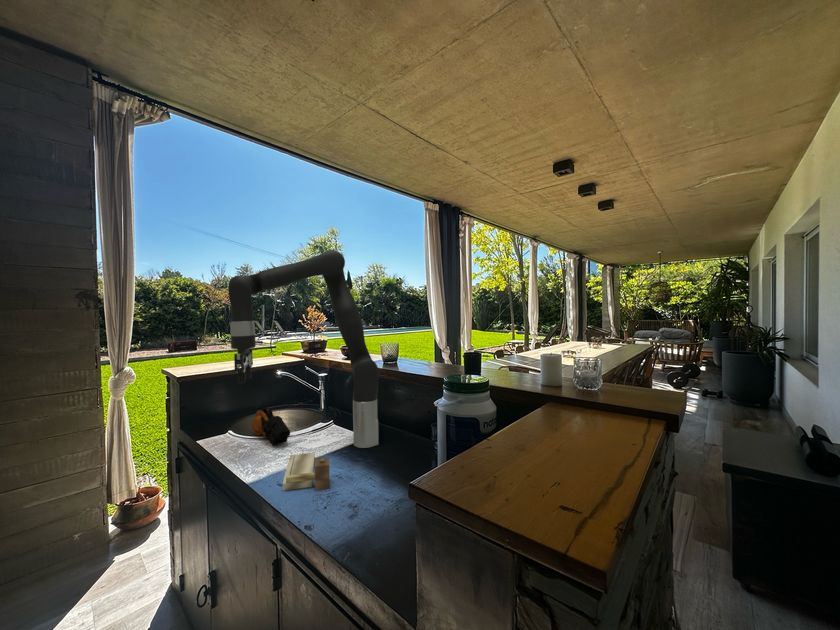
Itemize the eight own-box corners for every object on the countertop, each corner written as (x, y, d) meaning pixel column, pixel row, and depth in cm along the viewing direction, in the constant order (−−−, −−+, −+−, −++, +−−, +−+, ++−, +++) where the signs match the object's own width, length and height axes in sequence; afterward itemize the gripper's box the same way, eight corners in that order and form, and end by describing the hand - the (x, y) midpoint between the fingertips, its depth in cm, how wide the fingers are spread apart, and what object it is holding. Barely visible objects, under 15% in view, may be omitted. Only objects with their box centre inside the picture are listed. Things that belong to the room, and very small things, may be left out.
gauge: (329, 480, 104) (329, 455, 104) (329, 488, 99) (329, 462, 99) (287, 486, 101) (287, 459, 101) (285, 495, 96) (284, 467, 96)
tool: (269, 466, 129) (274, 434, 124) (247, 430, 143) (251, 400, 139) (289, 459, 135) (295, 427, 130) (266, 425, 149) (271, 395, 145)
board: (314, 458, 120) (314, 452, 119) (311, 486, 100) (311, 479, 100) (290, 460, 117) (290, 454, 117) (282, 490, 98) (282, 483, 98)
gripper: (250, 335, 112) (251, 384, 112) (259, 332, 125) (260, 376, 126) (224, 336, 110) (226, 386, 110) (236, 333, 124) (238, 377, 124)
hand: (244, 381), depth 118 cm, fingers open, 8 cm apart
